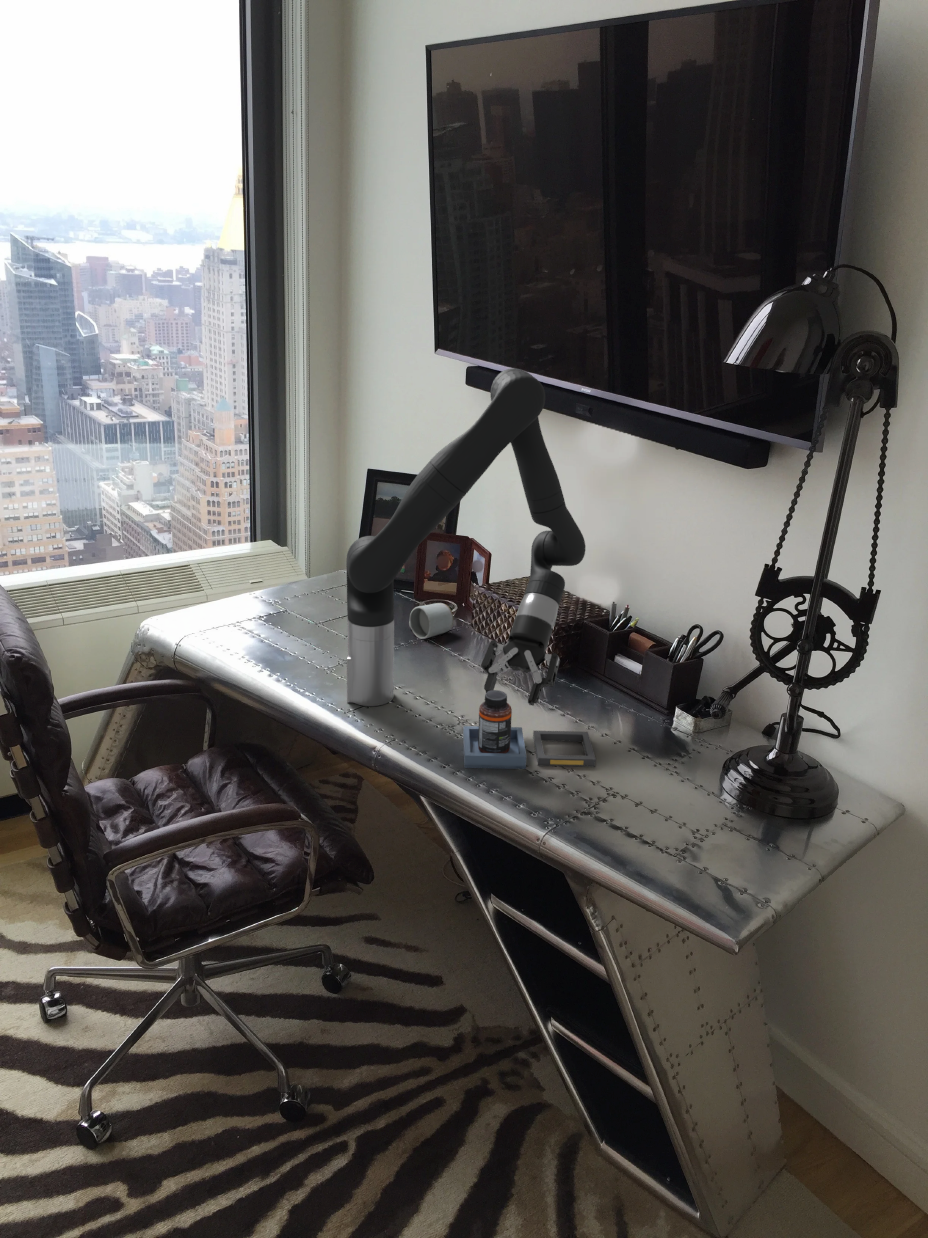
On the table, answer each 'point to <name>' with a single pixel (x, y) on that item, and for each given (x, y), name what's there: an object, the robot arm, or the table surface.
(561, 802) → the table surface
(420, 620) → the ceramic mug
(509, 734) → the supplement bottle
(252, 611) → the table surface
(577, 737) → the frame
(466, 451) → the robot arm
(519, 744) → the tray
